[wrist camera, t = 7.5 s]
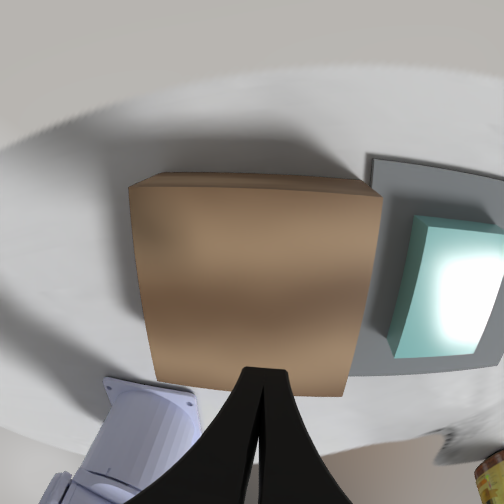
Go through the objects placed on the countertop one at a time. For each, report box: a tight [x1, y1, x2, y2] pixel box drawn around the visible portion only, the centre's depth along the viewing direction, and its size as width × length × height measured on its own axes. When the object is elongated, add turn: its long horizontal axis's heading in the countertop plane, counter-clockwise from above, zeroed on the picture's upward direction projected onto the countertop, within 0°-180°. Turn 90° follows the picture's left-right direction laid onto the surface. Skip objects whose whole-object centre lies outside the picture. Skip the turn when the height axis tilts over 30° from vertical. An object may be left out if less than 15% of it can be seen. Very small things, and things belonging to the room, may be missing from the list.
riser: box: [128, 172, 383, 397], centre depth 16 cm, size 11×10×4 cm
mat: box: [348, 159, 504, 376], centre depth 17 cm, size 14×14×1 cm
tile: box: [386, 215, 504, 358], centre depth 16 cm, size 8×6×2 cm
